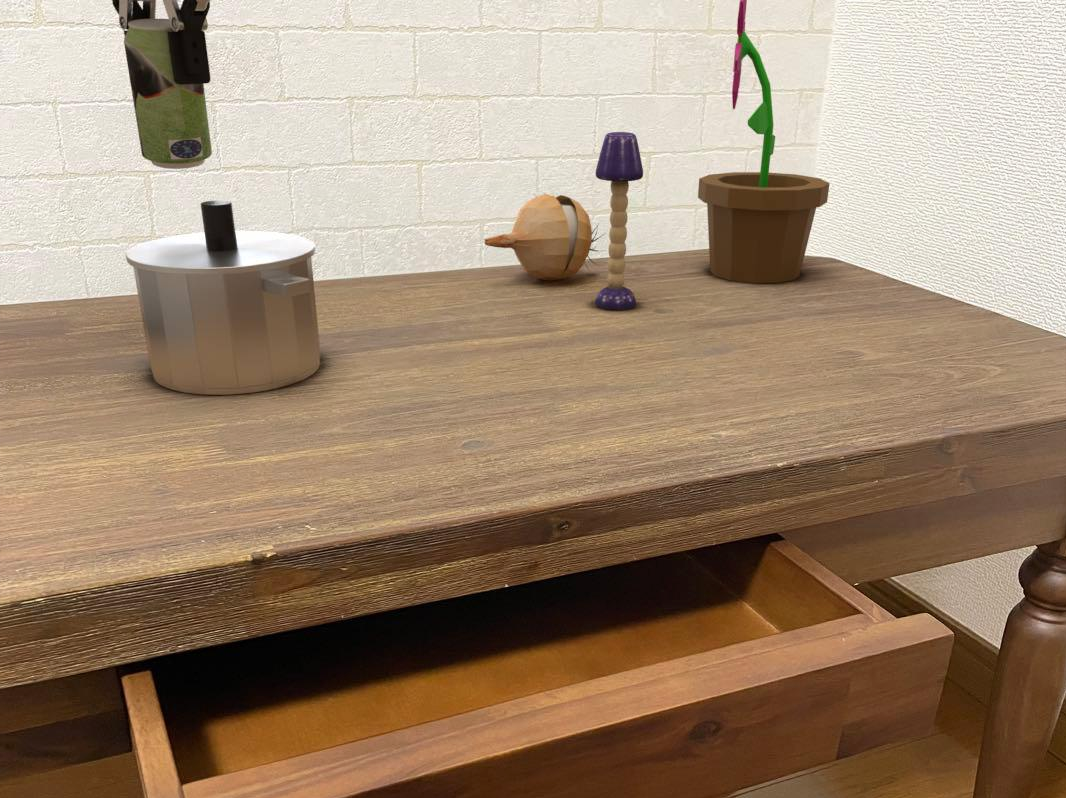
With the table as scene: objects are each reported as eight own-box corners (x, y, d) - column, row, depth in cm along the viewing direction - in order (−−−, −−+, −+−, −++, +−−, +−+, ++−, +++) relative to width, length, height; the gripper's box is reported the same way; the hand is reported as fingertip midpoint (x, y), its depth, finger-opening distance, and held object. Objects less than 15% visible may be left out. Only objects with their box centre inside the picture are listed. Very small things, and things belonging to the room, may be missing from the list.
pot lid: (195, 292, 75) (186, 227, 73) (92, 263, 83) (81, 203, 81) (353, 260, 84) (348, 201, 82) (246, 237, 93) (240, 183, 91)
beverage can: (207, 162, 98) (189, 19, 93) (221, 169, 92) (204, 18, 87) (137, 164, 95) (115, 18, 90) (147, 172, 89) (124, 16, 84)
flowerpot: (696, 257, 128) (716, -19, 115) (815, 263, 126) (850, -18, 112) (688, 283, 116) (709, -22, 102) (820, 290, 113) (860, -22, 100)
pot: (235, 415, 78) (218, 288, 73) (105, 364, 89) (83, 250, 84) (373, 373, 87) (365, 257, 83) (240, 331, 98) (227, 227, 94)
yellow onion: (631, 204, 114) (512, 177, 107) (617, 290, 116) (499, 270, 108) (586, 206, 122) (472, 180, 114) (574, 286, 124) (461, 267, 116)
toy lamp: (642, 310, 105) (651, 135, 98) (598, 313, 105) (603, 136, 97) (629, 299, 110) (636, 130, 102) (586, 301, 109) (590, 130, 101)
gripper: (37, -162, 85) (80, 79, 93) (151, -185, 75) (188, 88, 83) (122, -152, 90) (156, 76, 98) (240, -172, 80) (266, 84, 88)
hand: (170, 79), depth 90 cm, fingers closed on beverage can, 6 cm apart
